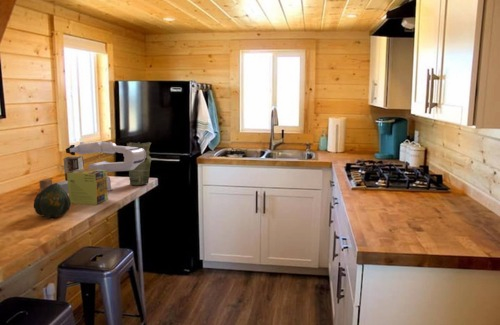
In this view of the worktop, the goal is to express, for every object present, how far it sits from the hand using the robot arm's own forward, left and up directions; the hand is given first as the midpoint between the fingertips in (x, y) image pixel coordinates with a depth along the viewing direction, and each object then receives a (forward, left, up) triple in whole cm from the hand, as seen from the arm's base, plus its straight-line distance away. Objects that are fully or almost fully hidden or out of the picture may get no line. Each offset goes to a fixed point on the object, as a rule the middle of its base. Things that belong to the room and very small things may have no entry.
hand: (72, 150), depth 232 cm
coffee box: (+4, -3, -21) cm, 21 cm away
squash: (-43, +37, -21) cm, 61 cm away
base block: (-8, +11, -21) cm, 25 cm away
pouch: (-26, -26, -21) cm, 42 cm away
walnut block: (+1, +16, -21) cm, 26 cm away
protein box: (-35, +14, -21) cm, 43 cm away
